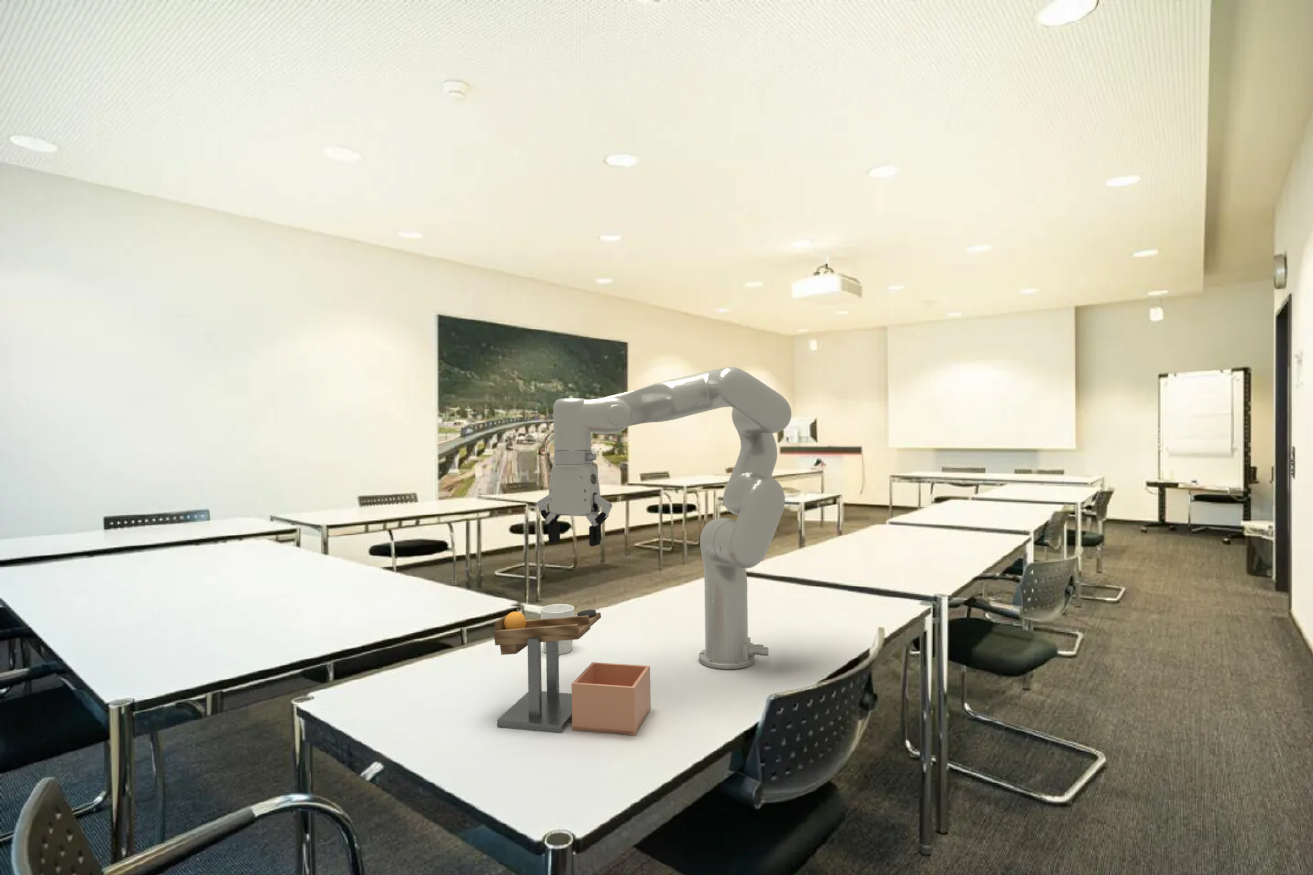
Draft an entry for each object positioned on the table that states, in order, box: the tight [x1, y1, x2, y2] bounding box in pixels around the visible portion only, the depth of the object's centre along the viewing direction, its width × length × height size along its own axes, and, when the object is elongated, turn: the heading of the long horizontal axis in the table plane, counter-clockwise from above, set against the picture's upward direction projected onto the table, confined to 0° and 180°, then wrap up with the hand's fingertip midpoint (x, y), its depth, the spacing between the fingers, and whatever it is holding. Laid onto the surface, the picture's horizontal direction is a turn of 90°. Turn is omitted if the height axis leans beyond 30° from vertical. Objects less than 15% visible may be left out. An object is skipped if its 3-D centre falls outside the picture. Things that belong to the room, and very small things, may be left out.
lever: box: [493, 609, 602, 656], centre depth 129 cm, size 16×15×6 cm
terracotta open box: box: [571, 661, 652, 736], centre depth 122 cm, size 11×11×8 cm
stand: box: [496, 637, 572, 733], centre depth 125 cm, size 12×14×15 cm
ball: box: [504, 611, 527, 630], centre depth 126 cm, size 4×4×4 cm
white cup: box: [540, 603, 575, 655], centre depth 162 cm, size 8×8×10 cm
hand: (574, 543), depth 138 cm, fingers open, 9 cm apart
